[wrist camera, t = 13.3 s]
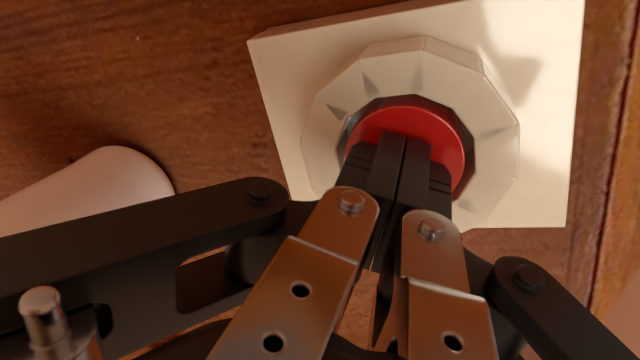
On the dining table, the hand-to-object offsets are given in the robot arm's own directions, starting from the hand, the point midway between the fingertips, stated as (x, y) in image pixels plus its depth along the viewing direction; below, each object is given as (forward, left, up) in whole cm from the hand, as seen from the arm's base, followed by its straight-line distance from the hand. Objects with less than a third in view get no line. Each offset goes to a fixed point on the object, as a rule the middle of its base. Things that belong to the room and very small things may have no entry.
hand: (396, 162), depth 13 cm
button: (0, 0, -2) cm, 2 cm away
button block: (0, 0, -4) cm, 4 cm away
